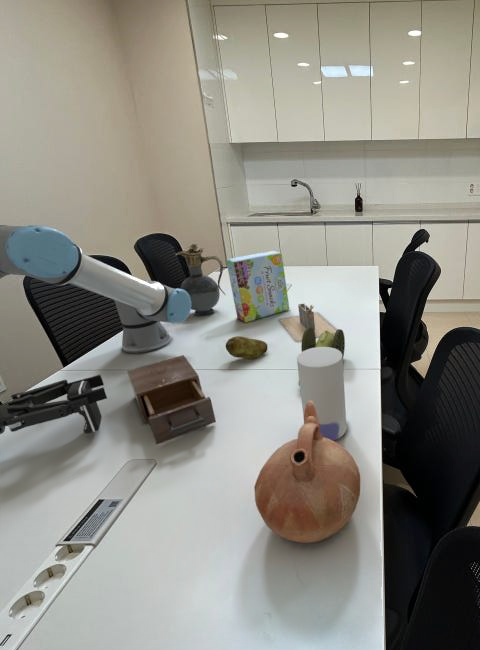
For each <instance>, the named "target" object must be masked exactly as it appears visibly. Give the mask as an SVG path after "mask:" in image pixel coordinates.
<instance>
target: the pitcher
mask: <svg viewBox="0 0 480 650" xmlns="http://www.w3.org/2000/svg"><path fill="white" fill-rule="evenodd" d="M187 249H188V250H182V251H179V252H177V253H175V256H179V255H180V256H182V257H183V258H184V259H185V261H186V265H187V267H188V271H189V277H187V278H185V279H184V280H183V282H182V283H181V285H180V289H182V290H185V291H186V292H187V293H188V294H189V296H190V300H191V310H192V311H194V315H195V316H207V315H210V314H212V313H214V311H215V310H214V309H213V308H214V307H215V306H217V304H218V303H219V300H220V295H221V294H220V293H222V294H224V295H226V293H225V292H224V291H223V289H222V288H221V286H220V283H221V279H222V275H223V271H224V264H223V261H222V260H221V259H220V257H218V255H217V256H216V255H208V256H206V257H205V256H202V253H204V250H205V248H202V247H201V248H199V249H198V244H197V243H192V244H191V245H190V246H187ZM209 260H215V261H217V262H218V263H219V266H220V268H219V271H220V272H219V275H218V279H217V282H216V281H215V280H214V279H213V278H212V277H210V276H209V275H206V274H203V270H202V264H203V263H204V262H208V261H209ZM220 291H221V292H220Z"/></svg>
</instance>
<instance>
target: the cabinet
mask: <svg viewBox="0 0 480 650" xmlns="http://www.w3.org/2000/svg"><path fill="white" fill-rule="evenodd" d="M126 372H127V374H128V378H129V382H130V385H131V388H132V391H133V394H134V398H135V399H136V402H137V406H138V408H139V411H140V413H141V416H142V419H143V421H144V423H145V424H147V423H150V422H149V419H148V417H149V414H148V411H147V408H146V405H145V401H144V398H143V395H145V394H148V393H152V392H155V391H158V390H161V389H164V388H168V387H171V386H174V385H177V384H181V383H184V382H187V381H190V380H194V381H195V383H196V384H197V386H198V387H199V388H200V390H201V391H202V392H203V390H202V385H201V381H200V377H199V374H198V373H197V371H196V370H195V369H194V367H193V366H192V364H191V363H190V362H189V360H188V359H187V358H186V356H185V355H183V354H182V355H179V356H175V357H172V358H168V359H165V360H161V361H157V362H154V363H153V362H152V363H150V364H146V365H143V366H139V367H135V368H131V369H128V370H126Z"/></svg>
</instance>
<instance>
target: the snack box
mask: <svg viewBox="0 0 480 650" xmlns="http://www.w3.org/2000/svg"><path fill="white" fill-rule="evenodd" d="M225 262H226V266H227V267H226V268H227V272H228V277H229V282H230V287H231V293H232V298H233V303H234V307H235V308H234V309H235V313H236V317H237V319H239V320H241V321H242V322H243V323H245V324H246V323H249V322H251V321H256V320H258V319H262V318H265V317H268V316H271V315H275V314H279V313H281V312H285V311H288V310H290V304H289V303H290V302H289V296H288V289H287V282H286V281H287V280H286V274H285V267H284V266H285V265H284V261H283V253H282V252H280V251H275V250H269V251H263V252H258V253H253V254H247V255H243V256H236V257H232V258H228V259H225Z"/></svg>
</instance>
